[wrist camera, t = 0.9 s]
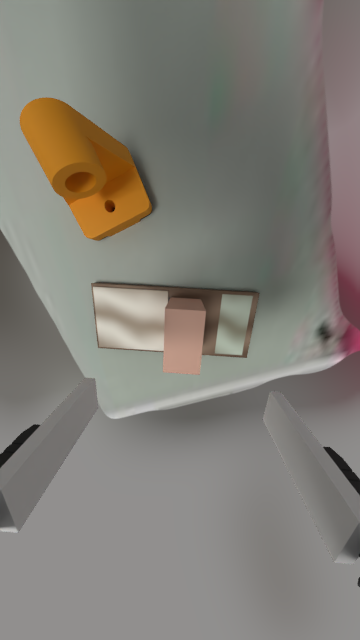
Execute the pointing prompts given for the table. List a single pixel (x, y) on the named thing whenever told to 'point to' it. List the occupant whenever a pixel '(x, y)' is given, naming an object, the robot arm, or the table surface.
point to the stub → (183, 335)
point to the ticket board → (149, 315)
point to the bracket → (85, 167)
